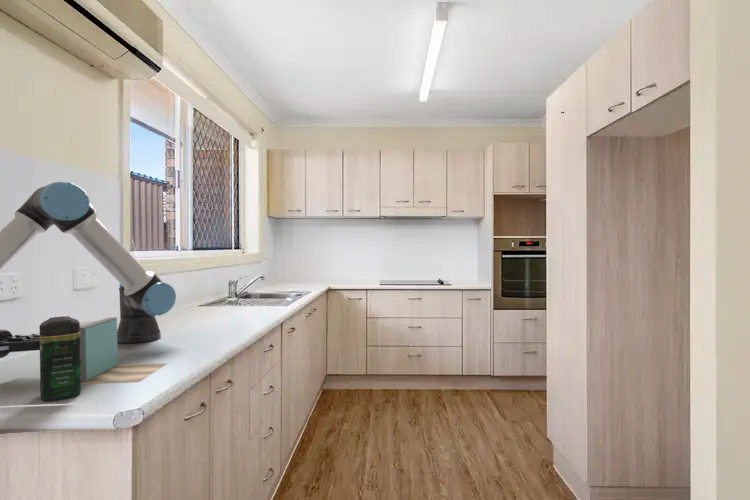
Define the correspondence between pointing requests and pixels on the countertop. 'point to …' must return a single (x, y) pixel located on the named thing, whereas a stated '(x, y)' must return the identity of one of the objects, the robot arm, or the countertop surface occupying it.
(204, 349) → the countertop surface
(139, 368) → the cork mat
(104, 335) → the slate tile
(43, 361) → the coffee jar
